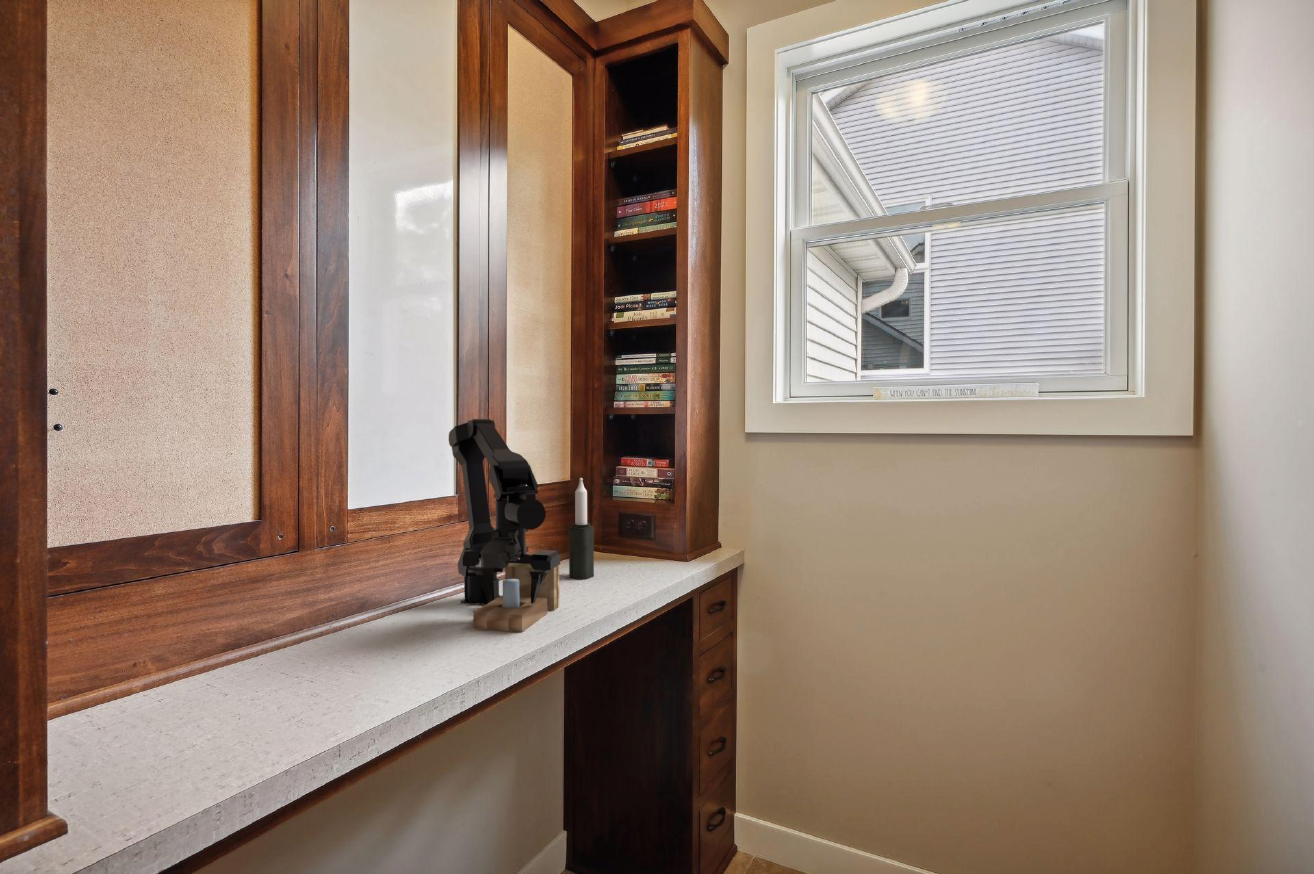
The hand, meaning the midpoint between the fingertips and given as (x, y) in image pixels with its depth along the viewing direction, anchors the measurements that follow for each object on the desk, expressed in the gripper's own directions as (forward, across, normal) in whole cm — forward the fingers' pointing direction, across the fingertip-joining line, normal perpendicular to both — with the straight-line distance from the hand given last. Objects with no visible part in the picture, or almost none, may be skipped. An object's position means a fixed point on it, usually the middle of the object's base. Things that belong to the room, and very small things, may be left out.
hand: (511, 601), depth 132 cm
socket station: (+4, 0, +3) cm, 5 cm away
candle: (+4, +1, +38) cm, 38 cm away
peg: (+4, 0, 0) cm, 4 cm away
